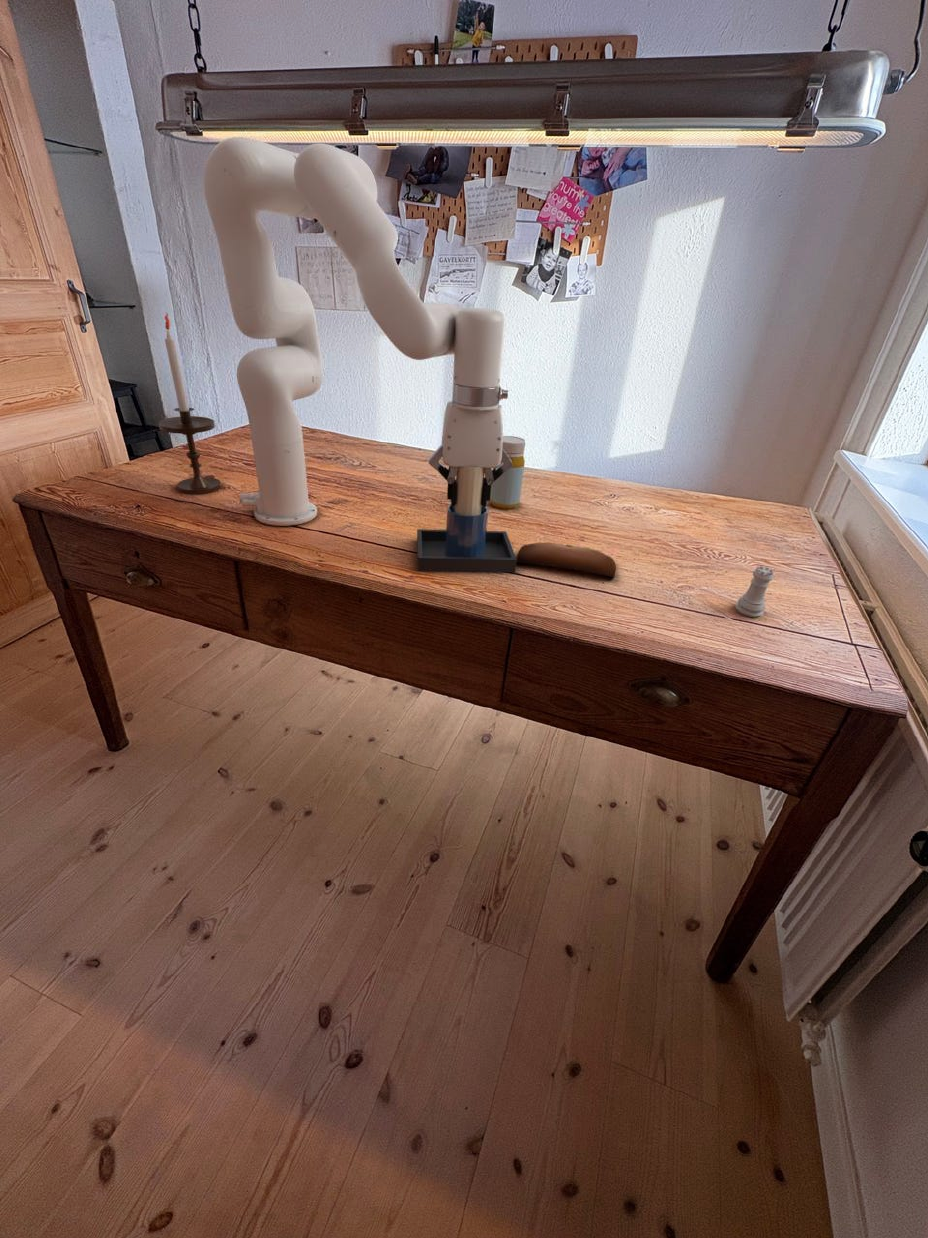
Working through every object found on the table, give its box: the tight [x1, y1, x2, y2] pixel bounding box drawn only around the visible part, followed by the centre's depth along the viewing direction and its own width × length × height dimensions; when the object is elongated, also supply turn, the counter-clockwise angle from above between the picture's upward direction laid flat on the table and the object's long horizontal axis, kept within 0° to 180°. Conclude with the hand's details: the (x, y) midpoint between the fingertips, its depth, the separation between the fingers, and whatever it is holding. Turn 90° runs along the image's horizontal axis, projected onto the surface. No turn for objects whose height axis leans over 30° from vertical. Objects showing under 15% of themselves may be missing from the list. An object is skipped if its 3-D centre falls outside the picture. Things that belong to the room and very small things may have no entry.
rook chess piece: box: [735, 565, 775, 618], centre depth 91 cm, size 4×4×8 cm
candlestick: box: [158, 312, 222, 495], centre depth 115 cm, size 11×11×35 cm
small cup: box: [454, 467, 485, 516], centre depth 97 cm, size 5×5×10 cm
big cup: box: [445, 503, 489, 557], centre depth 101 cm, size 7×7×9 cm
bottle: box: [489, 435, 526, 510], centre depth 124 cm, size 7×7×15 cm
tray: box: [416, 528, 517, 573], centre depth 103 cm, size 18×13×3 cm
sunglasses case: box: [516, 541, 617, 580], centre depth 102 cm, size 18×7×7 cm
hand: (468, 502), depth 98 cm, fingers closed on small cup, 4 cm apart
